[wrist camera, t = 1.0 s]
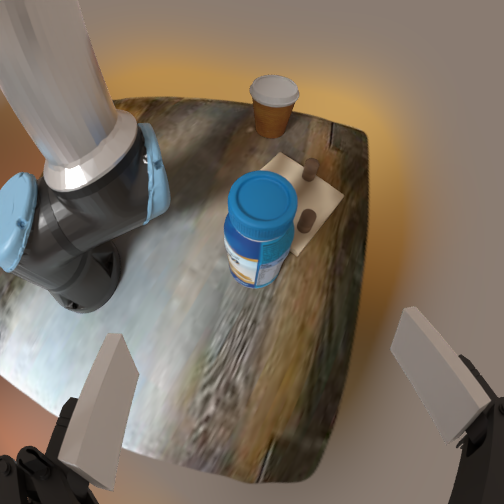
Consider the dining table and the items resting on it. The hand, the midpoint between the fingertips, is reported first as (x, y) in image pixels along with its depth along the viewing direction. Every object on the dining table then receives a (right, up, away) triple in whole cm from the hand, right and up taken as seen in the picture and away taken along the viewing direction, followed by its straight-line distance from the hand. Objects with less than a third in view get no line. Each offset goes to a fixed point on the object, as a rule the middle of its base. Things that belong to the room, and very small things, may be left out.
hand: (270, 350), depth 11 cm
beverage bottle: (0, +2, +33) cm, 33 cm away
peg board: (+6, +13, +37) cm, 40 cm away
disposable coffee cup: (+3, +31, +44) cm, 54 cm away
